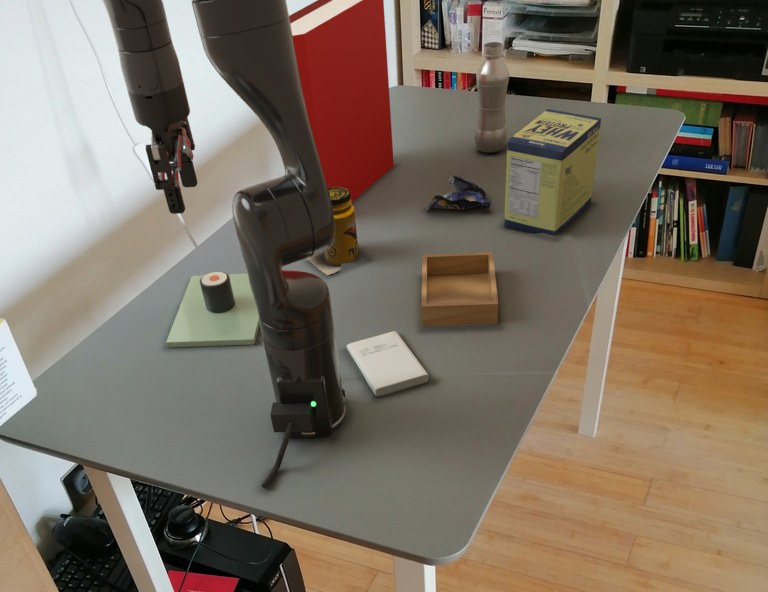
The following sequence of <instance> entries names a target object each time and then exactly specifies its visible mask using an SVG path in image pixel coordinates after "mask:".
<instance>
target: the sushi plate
mask: <svg viewBox="0 0 768 592" xmlns="http://www.w3.org/2000/svg"><path fill="white" fill-rule="evenodd" d="M227 274H228V275H229V278H230V282H231V286H232V291H233V295H234V299H235V306H234V307H233V308H232V309H231V310H229V311H226V312H223V313H212V312H209V311H208V310H207V309H206V305H205V301H204V297H203V293H202V289H201V286H200V279H201V278H202V277H203V276H204V275H205V274H203V275H201V274H200V275H191V277H190V280H189V282H188V285H187V286H186V287H187V288H186V289H185V293H184V295H183V298H182V300H181V302H180V305H179V308H178V310H177V313H176V315H175V318H174V321H173V322H172V326H171V328H170V331H169V333H168V336H167V339H166V341H165V344H166V347H167V348H190V347H193V348H194V347H219V346H220V347H221V346H247V345H249V346H251V345H255V344H256V341H257V337H258V332H259V330H260V322H259V317H258V313H257V308H256V304H255V300H254V297H253V294H252V290H251V287H250V283H249V278H248V274H247V273H232V274H231V273H227Z"/></svg>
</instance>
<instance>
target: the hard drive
mask: <svg viewBox="0 0 768 592" xmlns="http://www.w3.org/2000/svg"><path fill="white" fill-rule="evenodd" d="M346 349H347V351H348V352H349V354H350V356H351V358H352V359H353V361H354V363H356V365H357V367H358V368H359V370H360V372H361V373H362V375H363V379H364V380H365V381H366V383H367V385H368V386H369V388H370V389H371V391H372V392H373V395H375V397H377V398H380V397H383V396H386V395H390V394H394V393H397V392H400V391H403V390H407V389H410V388H414V387H417V386H421V385H424V384H427V383H428V382H429V374H428V372H427V371H426V370H425V368H424V367H423V365H422V364H421V362H419V360H418V359H417V357H416V356H415V355H414V354H413V352H412V350H411V349H410V348H409V347H408V346H407V344H406V343H405V341H404V340H403V338H402V337H401V335H400V334H399V333H398V332H397V330H396V331H395V330H392V331H389V332H385V333H382V334H379V335H375V336H372V337H367V338H364V339H361V340H357V341H354V342H353V341H352V342H350V343H348V344H347V345H346Z"/></svg>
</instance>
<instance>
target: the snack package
mask: <svg viewBox="0 0 768 592" xmlns="http://www.w3.org/2000/svg"><path fill="white" fill-rule="evenodd" d="M448 185H450V186H451V187H452V188H453V189H454V190H452V191H450V192H447V193H446V194H444V195H439V194H436V195H434V196H433V197H432V198H431V200H430V201H429V202H428V203H427V204H426V205H424V208H425V209H426V211H427V212H429V210H431V209H443V210H444V209H445V210H456V211H458V210H459V211H461V210H462V211H463V210H467V209H471V208H476V207H479V206H480V207H484V208H488V209H489V208H490V206H491V204H492V202H491V199H489V197H488V196H487V193H486V192H485V190H484V189H483V188H482V187H479V185H478V184H475V182H473V181H471V180H470V179H468V178H467V177H461V175H455V174H454V173H452V174H451V175H449V177H448ZM486 212H487V213H488V210H486Z"/></svg>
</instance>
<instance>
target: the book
mask: <svg viewBox="0 0 768 592" xmlns="http://www.w3.org/2000/svg"><path fill="white" fill-rule="evenodd" d="M384 3H385V1H384V0H316V1H313V2H311V3H310V4H308V5H306V6H304V7H303V8H301V9H299V10H297V11H295V12H293V13H292V14H289V18H290V24H291V30H292V36H293V42H294V48H295V54H296V59H297V65H298V70H299V75H300V80H301V85H302V90H303V95H304V100H305V105H306V110H307V114H308V118H309V122H310V126H311V129H312V133H313V137H314V140H315V144H316V148H317V152H318V155H319V159H320V162H321V166H322V170H323V173H324V177H325V181H326V184H327V188H331V187H343V188H346V189H347V190H349V191H350V194H351V201H352V202H354V201H355V200H356V199H357V198H359V196H361V195H362V194H363V193H364V192H366V191H367V190H368V189H369V188H370V187H372V186H373V185H374V184H375V183H376V182H377V181H378V180H380V179H381V178H382V177H383V176H384V175H385V174H387V173H388V172H389V171H391V169H392V168H394V167H395V163H394V146H393V145H394V144H393V132H392V129H393V128H392V114H391V113H392V112H391V101H390V99H391V98H390V81H389V68H388V49H387V36H386V35H387V34H386V19H385V4H384Z"/></svg>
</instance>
